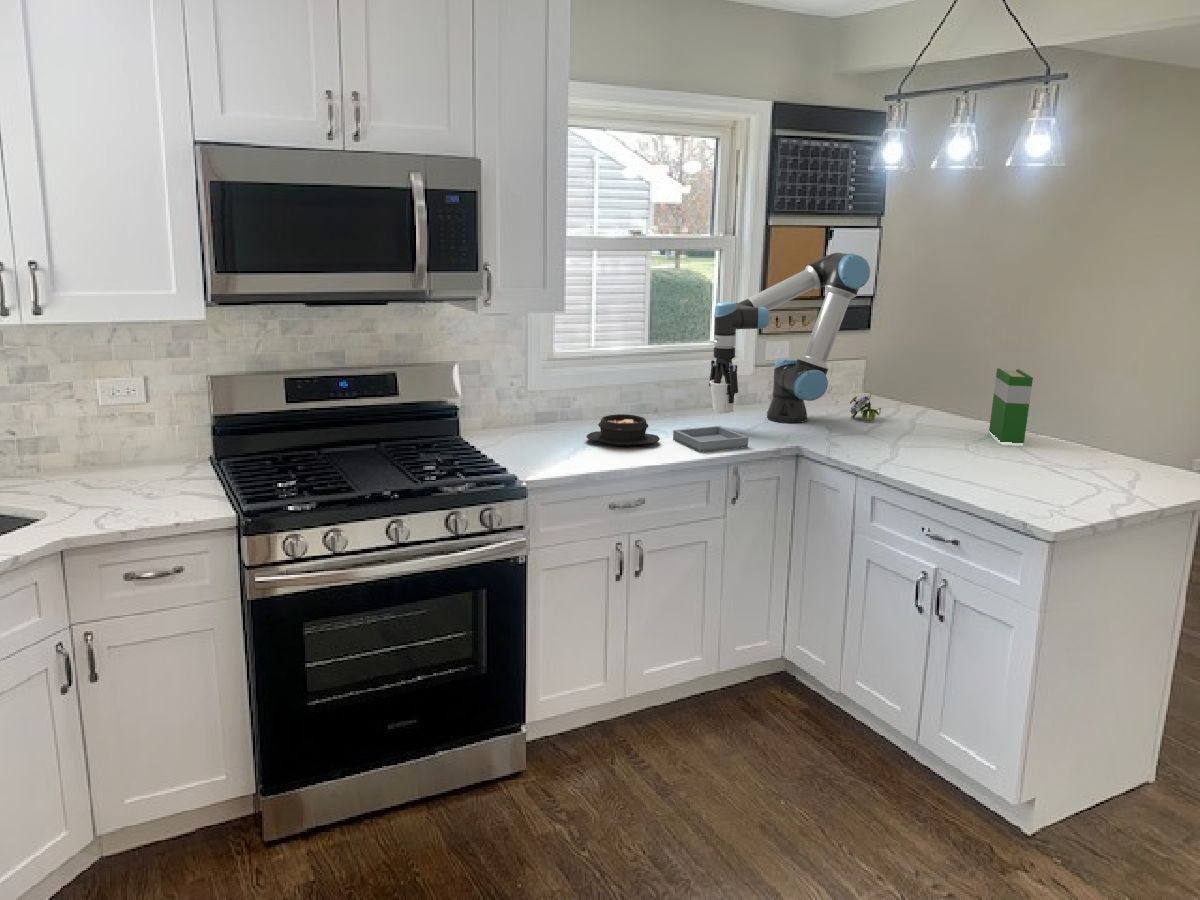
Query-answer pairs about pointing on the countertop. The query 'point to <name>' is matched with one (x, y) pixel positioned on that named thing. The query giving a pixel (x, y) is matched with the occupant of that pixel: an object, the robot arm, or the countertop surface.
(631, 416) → the casserole
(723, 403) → the cup
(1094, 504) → the countertop surface
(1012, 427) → the hardback book
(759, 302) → the robot arm
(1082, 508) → the countertop surface
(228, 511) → the countertop surface
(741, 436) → the tray
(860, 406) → the passion flower
